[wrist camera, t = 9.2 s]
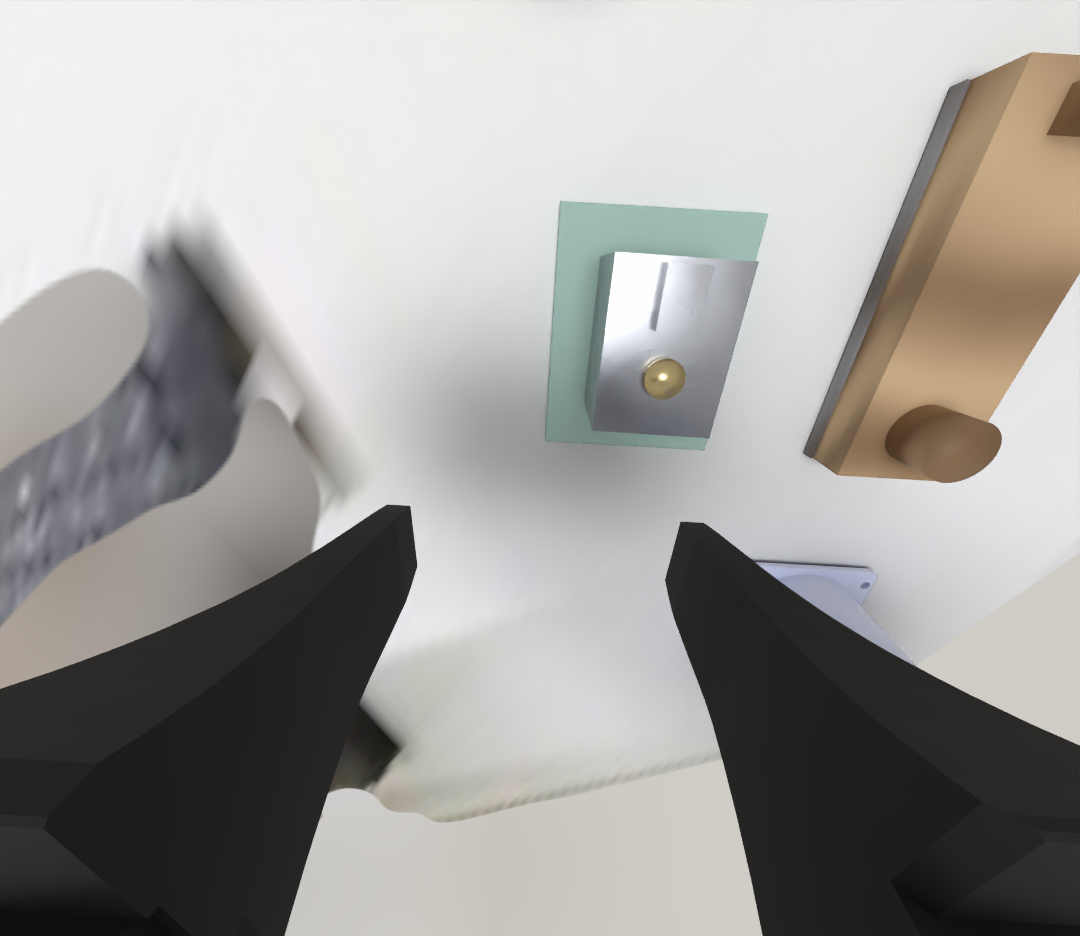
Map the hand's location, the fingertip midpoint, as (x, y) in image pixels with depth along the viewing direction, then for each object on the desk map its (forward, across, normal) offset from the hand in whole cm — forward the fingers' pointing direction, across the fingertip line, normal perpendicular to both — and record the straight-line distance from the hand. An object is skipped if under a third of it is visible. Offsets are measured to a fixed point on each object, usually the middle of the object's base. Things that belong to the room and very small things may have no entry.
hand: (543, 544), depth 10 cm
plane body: (+10, -16, -6) cm, 20 cm away
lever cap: (+10, -4, -4) cm, 11 cm away
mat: (+10, -4, -4) cm, 11 cm away
